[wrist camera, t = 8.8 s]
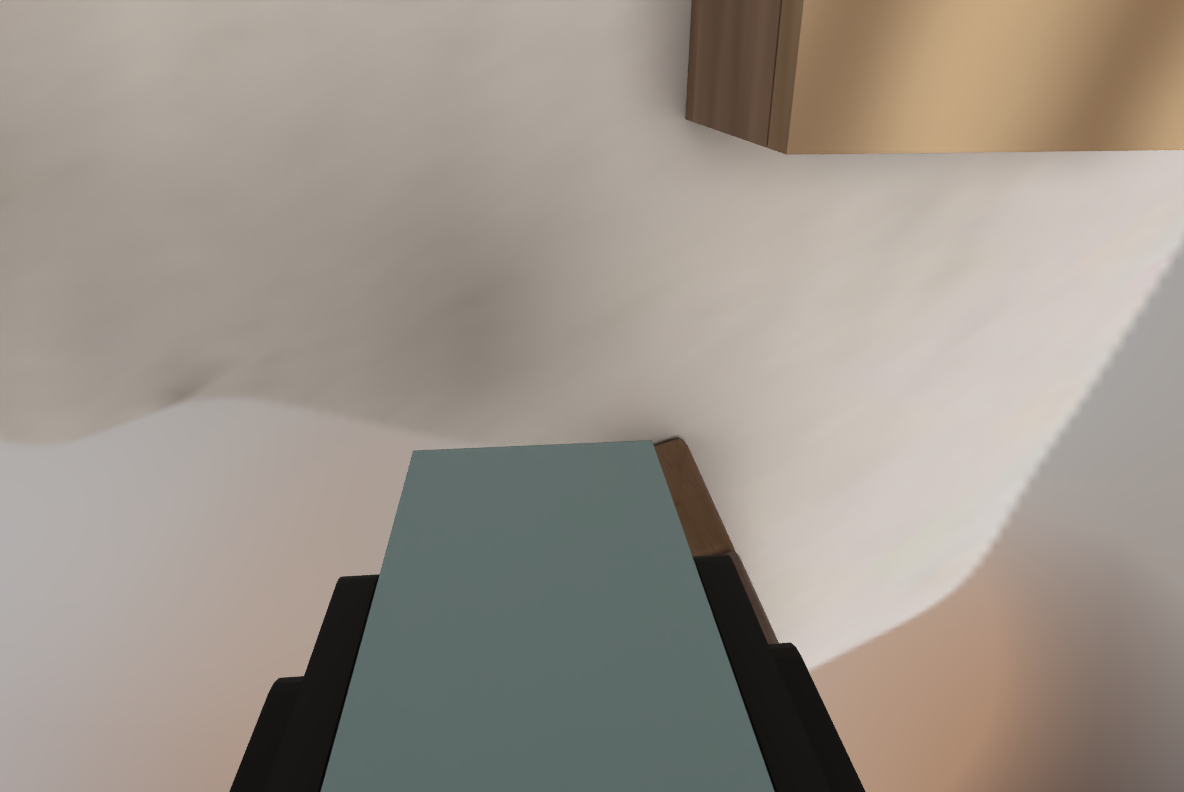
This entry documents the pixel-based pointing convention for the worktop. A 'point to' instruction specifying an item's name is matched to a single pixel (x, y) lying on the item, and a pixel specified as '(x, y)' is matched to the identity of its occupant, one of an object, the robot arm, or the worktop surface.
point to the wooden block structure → (703, 517)
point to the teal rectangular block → (542, 636)
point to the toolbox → (733, 66)
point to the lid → (978, 76)
